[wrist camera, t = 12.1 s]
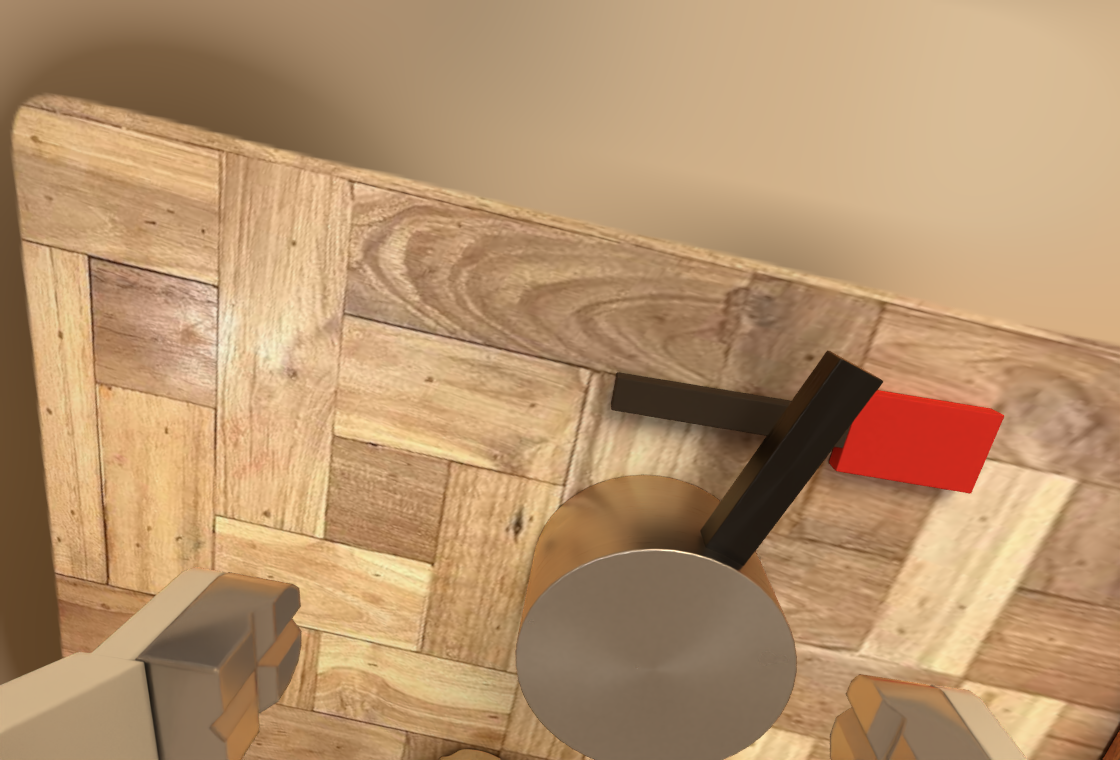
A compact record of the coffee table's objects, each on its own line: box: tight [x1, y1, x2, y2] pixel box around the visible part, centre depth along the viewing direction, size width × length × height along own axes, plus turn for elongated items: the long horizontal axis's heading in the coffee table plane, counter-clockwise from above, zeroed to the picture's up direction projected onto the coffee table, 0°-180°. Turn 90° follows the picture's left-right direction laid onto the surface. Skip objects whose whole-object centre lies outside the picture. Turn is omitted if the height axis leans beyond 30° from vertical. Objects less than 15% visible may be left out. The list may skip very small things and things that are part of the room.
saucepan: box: [516, 351, 883, 760], centre depth 27 cm, size 23×13×7 cm, turn 153°
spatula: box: [611, 373, 1004, 493], centre depth 28 cm, size 4×19×1 cm, turn 82°
